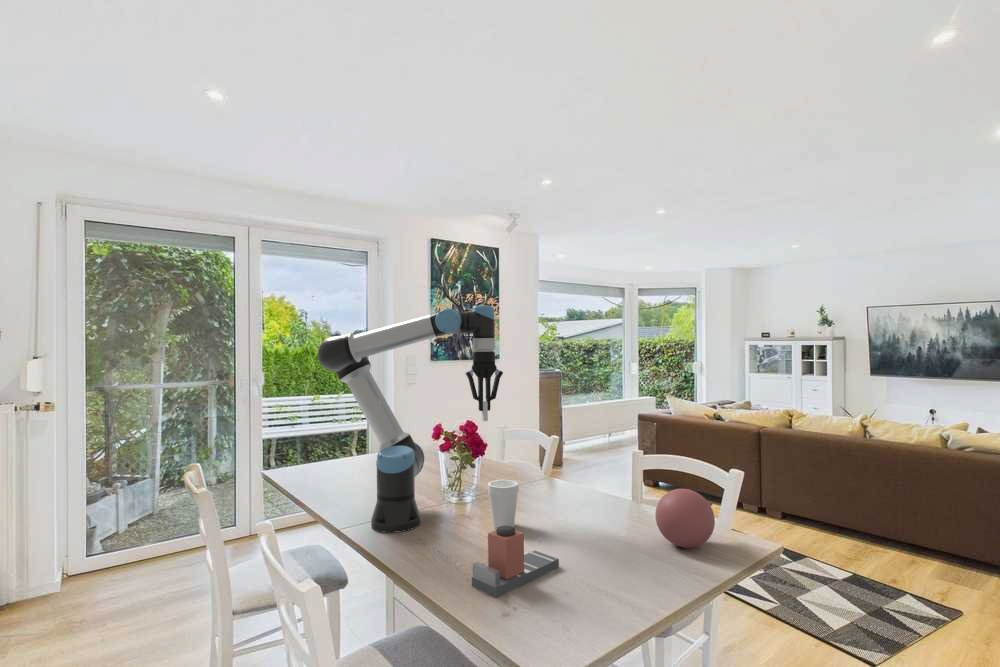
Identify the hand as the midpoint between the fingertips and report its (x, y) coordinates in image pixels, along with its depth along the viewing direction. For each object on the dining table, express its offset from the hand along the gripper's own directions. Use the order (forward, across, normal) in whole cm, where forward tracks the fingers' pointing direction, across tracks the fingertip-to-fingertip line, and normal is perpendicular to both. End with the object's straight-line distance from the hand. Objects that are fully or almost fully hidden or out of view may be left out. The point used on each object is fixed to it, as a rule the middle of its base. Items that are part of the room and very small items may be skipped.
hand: (484, 420), depth 177 cm
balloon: (+31, -48, +45) cm, 73 cm away
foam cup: (+31, -2, +16) cm, 35 cm away
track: (+30, +4, +51) cm, 60 cm away
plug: (+28, +7, +53) cm, 60 cm away
